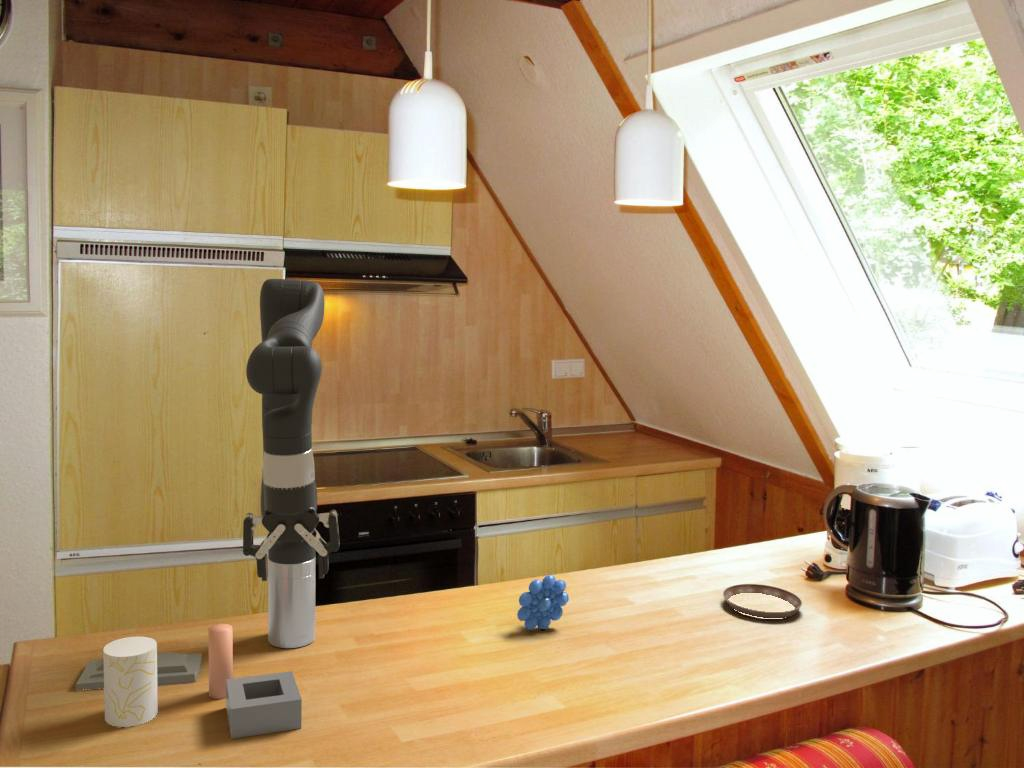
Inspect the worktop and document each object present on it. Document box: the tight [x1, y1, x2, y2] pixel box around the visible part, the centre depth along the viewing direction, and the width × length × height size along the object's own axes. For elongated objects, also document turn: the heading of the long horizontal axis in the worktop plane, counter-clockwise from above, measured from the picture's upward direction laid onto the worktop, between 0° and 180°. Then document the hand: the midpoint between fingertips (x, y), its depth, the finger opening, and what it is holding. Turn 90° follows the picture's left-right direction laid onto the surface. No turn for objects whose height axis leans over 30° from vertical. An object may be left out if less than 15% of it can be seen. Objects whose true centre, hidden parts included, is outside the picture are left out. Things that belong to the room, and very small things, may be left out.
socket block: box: [225, 670, 303, 740], centre depth 151 cm, size 11×11×5 cm
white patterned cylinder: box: [102, 636, 159, 728], centre depth 150 cm, size 8×8×12 cm
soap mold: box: [75, 651, 203, 691], centre depth 165 cm, size 10×20×4 cm, turn 103°
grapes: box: [516, 574, 570, 631], centre depth 193 cm, size 12×7×12 cm, turn 110°
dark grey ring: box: [722, 583, 803, 618], centre depth 210 cm, size 18×18×3 cm
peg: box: [207, 623, 234, 700], centre depth 159 cm, size 4×4×12 cm
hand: (293, 577), depth 139 cm, fingers open, 8 cm apart
